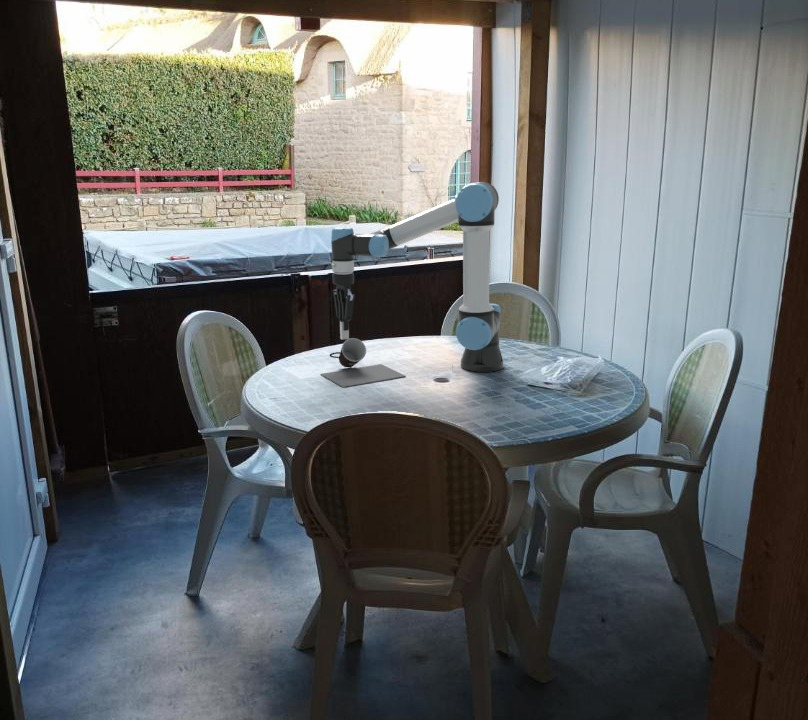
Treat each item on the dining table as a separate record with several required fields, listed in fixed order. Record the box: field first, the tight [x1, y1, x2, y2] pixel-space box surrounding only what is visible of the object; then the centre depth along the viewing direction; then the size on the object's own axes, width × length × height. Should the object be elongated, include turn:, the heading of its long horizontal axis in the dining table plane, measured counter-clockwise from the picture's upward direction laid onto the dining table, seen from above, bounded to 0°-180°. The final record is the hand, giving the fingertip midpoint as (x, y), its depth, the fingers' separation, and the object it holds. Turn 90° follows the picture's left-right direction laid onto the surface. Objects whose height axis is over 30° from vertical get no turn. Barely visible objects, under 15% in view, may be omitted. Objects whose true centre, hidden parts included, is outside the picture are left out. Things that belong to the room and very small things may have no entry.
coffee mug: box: [329, 337, 367, 368], centre depth 265 cm, size 12×9×10 cm
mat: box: [320, 363, 407, 388], centre depth 260 cm, size 17×24×1 cm
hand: (344, 338), depth 268 cm, fingers closed
